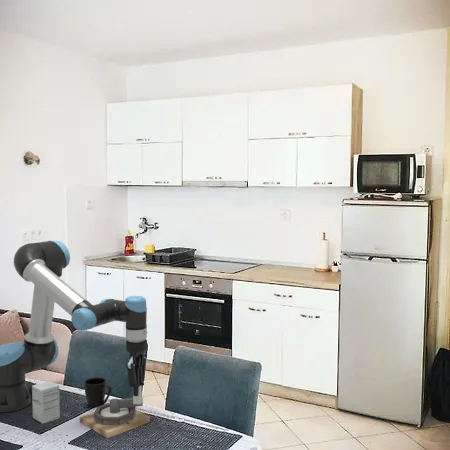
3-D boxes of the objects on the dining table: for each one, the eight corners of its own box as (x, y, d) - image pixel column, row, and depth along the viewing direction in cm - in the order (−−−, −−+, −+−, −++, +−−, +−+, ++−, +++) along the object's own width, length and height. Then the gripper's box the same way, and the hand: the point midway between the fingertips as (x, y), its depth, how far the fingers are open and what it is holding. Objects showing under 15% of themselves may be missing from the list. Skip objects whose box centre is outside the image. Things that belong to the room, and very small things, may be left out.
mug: (103, 412, 206) (102, 388, 205) (80, 406, 212) (79, 382, 212) (118, 405, 213) (117, 381, 212) (95, 399, 219) (95, 376, 219)
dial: (101, 423, 192) (101, 406, 191) (100, 412, 201) (99, 396, 201) (144, 418, 196) (144, 401, 195) (140, 407, 205) (140, 391, 205)
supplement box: (32, 418, 201) (31, 385, 200) (50, 412, 207) (49, 380, 206) (42, 424, 196) (40, 390, 195) (60, 418, 202) (59, 384, 201)
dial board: (80, 422, 198) (79, 410, 198) (121, 407, 211) (121, 396, 210) (107, 438, 185) (107, 425, 185) (150, 421, 198) (149, 409, 198)
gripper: (138, 345, 189) (139, 411, 190) (153, 335, 201) (154, 397, 203) (118, 343, 191) (119, 409, 192) (135, 334, 203) (136, 395, 205)
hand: (137, 403), depth 198 cm, fingers closed
